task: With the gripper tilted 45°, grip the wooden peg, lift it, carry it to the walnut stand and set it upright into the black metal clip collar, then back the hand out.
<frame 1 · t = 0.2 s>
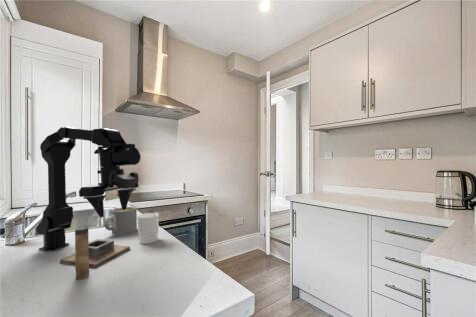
hand: (113, 213, 75), 14 cm above the counter, tool pointing down, fingers open, 9 cm apart
wooden peg: (82, 276, 61), on the counter
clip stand: (97, 255, 75), on the counter
coffee mug: (120, 232, 99), on the counter
white cup: (148, 241, 88), on the counter
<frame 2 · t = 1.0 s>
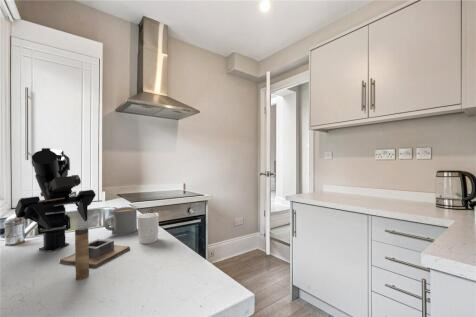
hand: (69, 224, 65), 13 cm above the counter, tool tilted 45°, fingers open, 9 cm apart
nothing on the counter moved.
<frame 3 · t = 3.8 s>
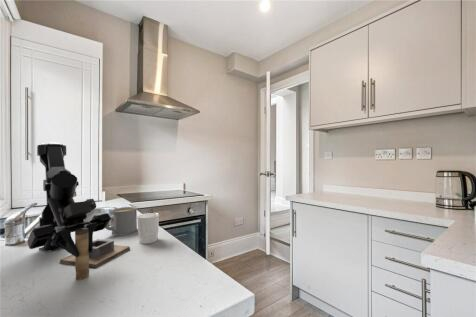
hand: (84, 253, 61), 7 cm above the counter, tool tilted 45°, fingers closed on wooden peg, 3 cm apart
wooden peg: (82, 276, 61), on the counter, touching gripper
everything else where it was.
when the fingers open (9 cm above the counter, at t = 7.3 s): wooden peg drops 1 cm, resting on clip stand.
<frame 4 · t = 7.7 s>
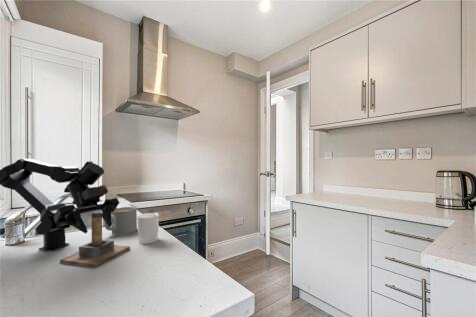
hand: (99, 229, 74), 9 cm above the counter, tool tilted 45°, fingers open, 7 cm apart
wooden peg: (97, 252, 75), point 1 cm above the counter, touching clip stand
everything else where it was.
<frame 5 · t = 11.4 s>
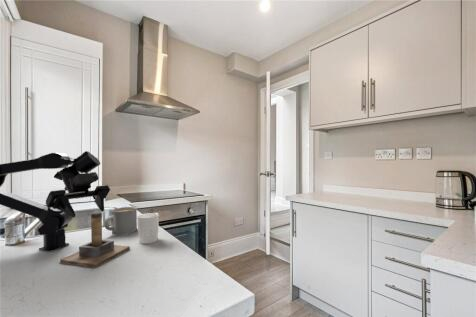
hand: (89, 213, 78), 14 cm above the counter, tool tilted 45°, fingers open, 9 cm apart
nothing on the counter moved.
at the end: wooden peg 0.0 cm off-centre on the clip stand, point 1.0 cm above the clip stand's base; wooden peg tilted 0°; the gripper is holding nothing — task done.
